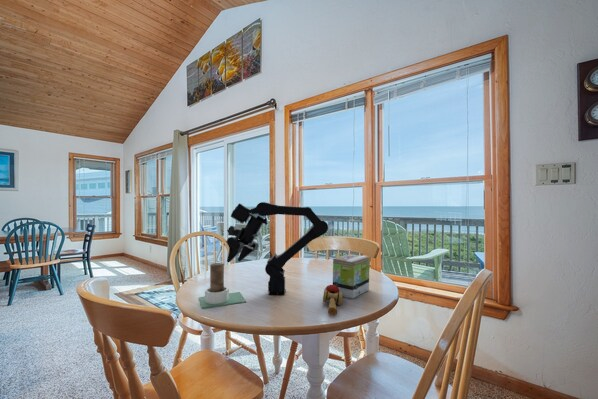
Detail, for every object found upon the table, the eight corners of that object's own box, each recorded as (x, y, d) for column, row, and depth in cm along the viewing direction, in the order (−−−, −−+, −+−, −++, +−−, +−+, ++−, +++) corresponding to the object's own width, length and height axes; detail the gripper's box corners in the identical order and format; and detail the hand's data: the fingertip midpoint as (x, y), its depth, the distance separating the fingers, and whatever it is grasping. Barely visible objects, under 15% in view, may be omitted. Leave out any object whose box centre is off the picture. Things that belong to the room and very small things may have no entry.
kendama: (346, 319, 94) (343, 294, 112) (343, 302, 94) (340, 279, 111) (323, 323, 95) (324, 297, 113) (320, 305, 95) (321, 282, 112)
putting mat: (239, 292, 118) (239, 282, 118) (246, 302, 107) (246, 290, 107) (199, 298, 112) (199, 287, 112) (201, 308, 101) (201, 296, 101)
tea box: (354, 299, 110) (354, 261, 110) (331, 294, 116) (331, 258, 116) (369, 290, 122) (369, 255, 122) (348, 285, 128) (348, 253, 128)
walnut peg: (221, 295, 112) (222, 262, 112) (225, 299, 108) (225, 265, 108) (209, 297, 110) (209, 263, 110) (211, 301, 105) (211, 266, 105)
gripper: (247, 221, 130) (230, 251, 130) (226, 217, 112) (206, 251, 112) (266, 233, 126) (248, 264, 126) (247, 231, 109) (227, 266, 108)
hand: (233, 261), depth 118 cm, fingers open, 9 cm apart
